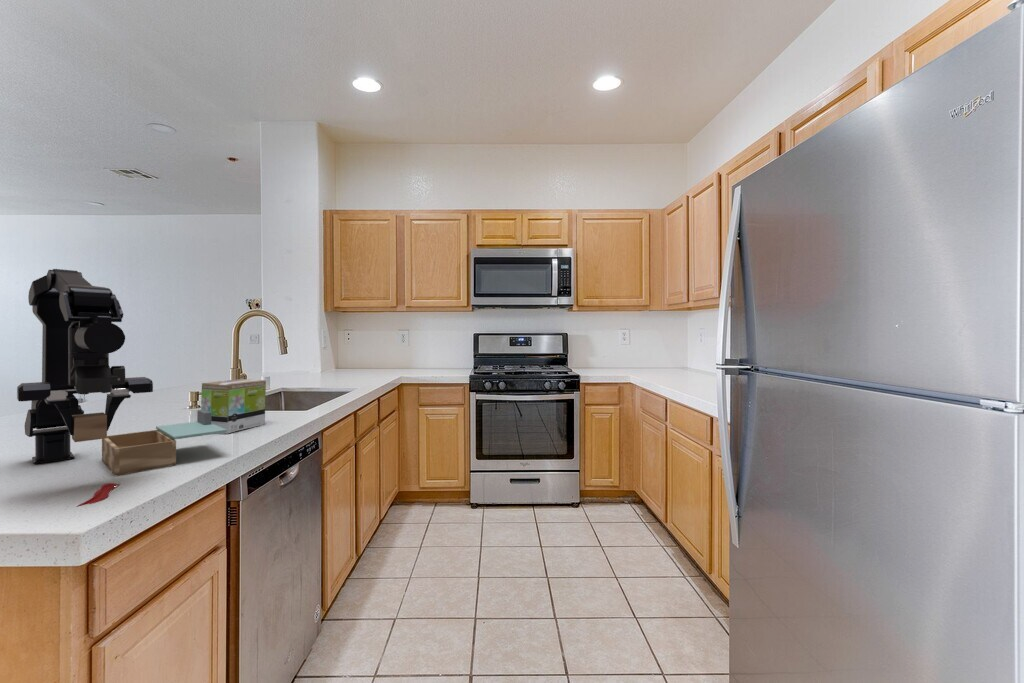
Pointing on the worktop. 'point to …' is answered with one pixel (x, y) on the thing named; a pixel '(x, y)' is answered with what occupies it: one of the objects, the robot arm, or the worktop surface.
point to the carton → (138, 451)
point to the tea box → (235, 403)
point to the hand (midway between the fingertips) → (89, 432)
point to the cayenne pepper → (100, 494)
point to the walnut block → (89, 426)
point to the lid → (192, 427)
